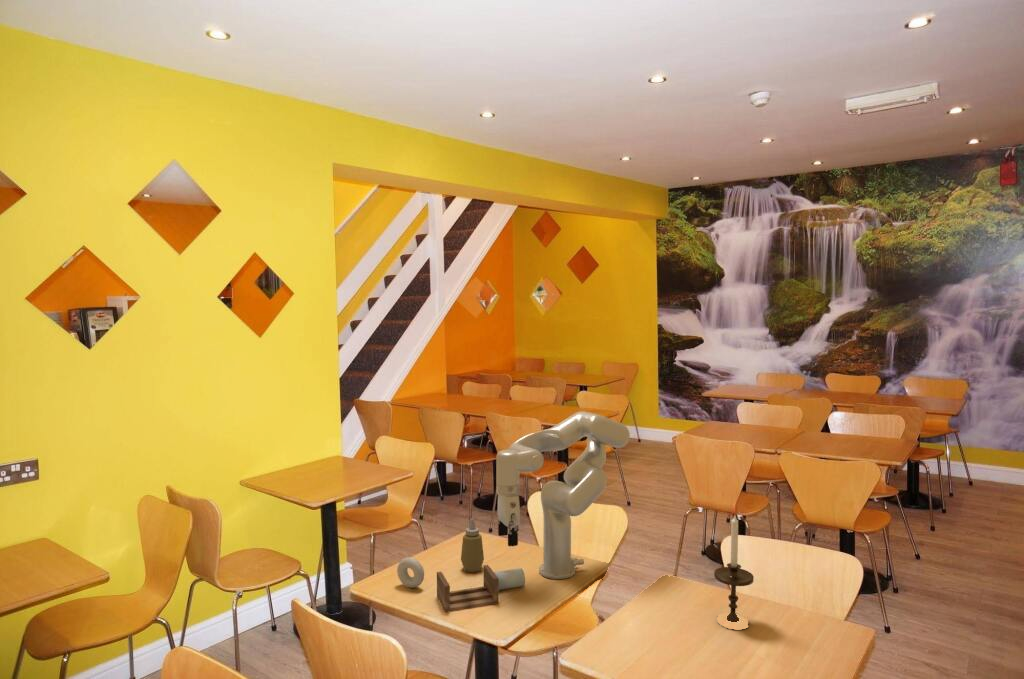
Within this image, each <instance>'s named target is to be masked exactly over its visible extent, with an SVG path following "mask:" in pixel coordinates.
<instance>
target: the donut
mask: <svg viewBox="0 0 1024 679" xmlns="http://www.w3.org/2000/svg"><path fill="white" fill-rule="evenodd" d="M408 569H410V570H411V571H412V573H413V576H411V575H410V574H409V572H408ZM424 569H425V568H424V566H423V565H422V564H421V562H420V561H419V560H418V559H416V558H415V557H412V556H411V557H410V556H407V557H405V558H403V559H401V560H400V561H399V562H398V565H397V570H396V572H397V577H398V579H399V581H400V583H401V584H403V585H404V586H405V587H407V588H411V589H415V588H417V587H419V586H420V585H421V584H422V583H423V581H424V579H425V570H424Z"/></svg>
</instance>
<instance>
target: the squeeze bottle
mask: <svg viewBox="0 0 1024 679" xmlns="http://www.w3.org/2000/svg"><path fill="white" fill-rule="evenodd" d="M482 537H483V536H482V535H481V533H480V528H479V527H477V526H476V523H475V519H474V518H470V520H469V525H468V527H467V528H465V533H464V535H463V536H462V543H461V553H460V556H461V557H460V561H461V565H462V567H463V570H464V571H465V572H467V573H476V572H479V571H481V570H482V566H483V563H484V561H485V558H484V549H483V548H484V545H483V538H482Z"/></svg>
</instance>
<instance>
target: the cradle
mask: <svg viewBox="0 0 1024 679" xmlns="http://www.w3.org/2000/svg"><path fill="white" fill-rule="evenodd" d="M482 566H483V586H478V587H471V588H466V589H460V590H459V589H458V590H452V591H451V585H450V584H449V582H448V581H447V578H446V577H445V575H444V573H443V572H442V571H436V598H437V600H438V602H439V604H440V603H441V604H440V605H441V607H442V609H443V611H444V613H448V611H450V612H454V610H456V611H462V610H467V609H473V608H478V607H479V608H480V607H485V606H492V605H496V604H497V605H498V604H499V599H500V598H499V594H500V593H499V592H500V590H499V578H498V577H497V576H496V574H495V573H494V572H495V571H493V569H492V568H491V567H490V566H489V565H488V564H486V565H485V564H484V565H483V564H482ZM461 609H462V610H461Z"/></svg>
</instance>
